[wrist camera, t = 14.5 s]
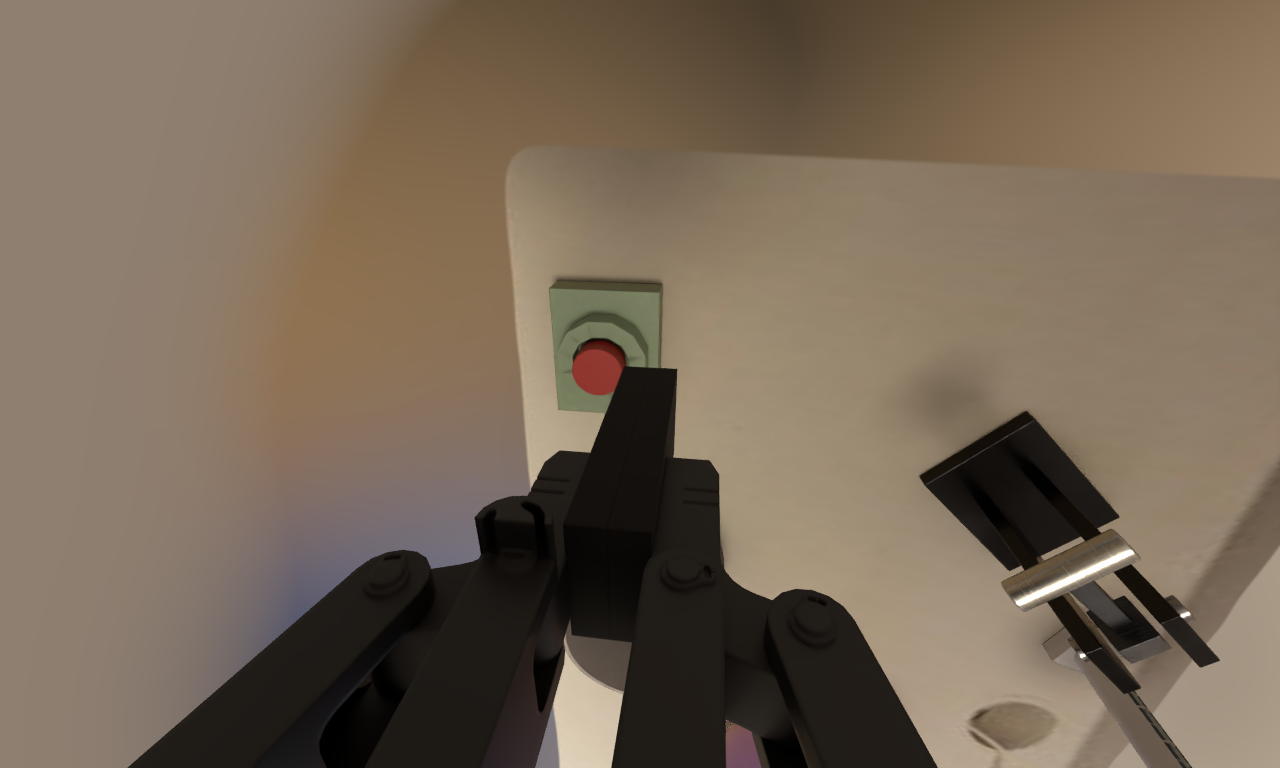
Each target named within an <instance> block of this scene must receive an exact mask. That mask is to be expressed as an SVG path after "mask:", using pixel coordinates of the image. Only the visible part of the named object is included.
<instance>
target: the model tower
mask: <svg viewBox="0 0 1280 768" xmlns="http://www.w3.org/2000/svg"><path fill="white" fill-rule="evenodd" d="M1095 628H1096V629H1097V630H1098V632H1099V633H1100V634H1101V635H1102V637H1103V638H1104V639H1105V641H1106V642H1107V643H1108V645H1109V646H1110V647H1111V649H1112V650H1113V651H1114V652H1115V654H1116V655H1117V656H1118V658H1119V659H1120V658H1121V657H1122V655H1121V654H1120V653H1119V652H1118V651H1117V650H1116V649H1115V648H1114V646H1113V645H1112V644H1111V643H1110V641H1109V640H1108V639H1107V638H1106V636H1105V635H1104V634H1103V633H1102V631H1101V630H1100V629H1099V628H1097V627H1095ZM1070 637H1071V635H1070V634H1069V632H1068V631H1067V630H1066V628H1063V629H1062V630H1061V631H1059V632H1058V633H1057V634H1056V635H1054V636H1053V637H1052V638H1050V639H1049V640H1048V641H1046V642H1045V643H1044V644H1043V647H1044V648H1045V650H1046V651H1047V653H1048V654H1049V656H1050V658H1051V659H1052V661H1054V662H1056V663H1059V664H1061V665H1063V666H1065V667H1068V668H1070V669H1072V670H1075V671H1077V672H1079V673H1081V674H1084V675H1085V677H1086V678H1087V679H1088V681H1089V682H1090V684H1091V685H1092V687H1093V688H1094V690H1095V691H1096V693H1097V694H1098V696H1099V697H1100V699H1101V700H1102V702H1103V703H1104V704H1105V706H1106V707H1107V709H1108V710H1109V712H1110V713H1111V715H1112V716H1113V718H1114V719H1115V721H1116V722H1117V724H1118V725H1119V727H1120V728H1121V729H1122V731H1123V732H1124V734H1125V735H1126V737H1127V738H1128V740H1129V741H1130V743H1131V744H1132V745H1133V747H1134V749H1135V750H1136V752H1137V753H1138V754H1139V756H1140V757H1141V759H1142V760H1143V762H1144V763H1145V765H1146V766H1147V768H1192V767H1191V765H1190V764H1189V763H1188V761H1187V760H1186V759H1185V758H1184V756H1183V755H1182V753H1181V752H1180V751H1179V750H1178V748H1177V747H1176V745H1175V744H1174V743H1173V741H1172V740H1171V739H1170V738H1169V736H1168V735H1167V733H1166V732H1165V731H1164V729H1163V728H1162V727H1161V725H1160V724H1159V723H1158V721H1157V720H1156V719H1155V717H1154V716H1153V715H1152V713H1151V712H1150V711H1149V709H1148V708H1147V707H1146V705H1145V704H1144V703H1143V701H1142V700H1141V699H1140V697H1139V696H1138V695H1137V693H1136V692H1135V691H1132V692H1130V693H1127V694H1123V693H1122V692H1121V691H1120V690H1119V689H1118V688H1117V687H1116V686H1115V685H1114V684H1113V683H1112V682H1111V681H1110V680H1109V679H1108V678H1107V677H1106V676H1105V675H1104V674H1103V673H1102V672H1101V671H1100V670H1099V669H1098V668H1097V667H1096V666H1095V665H1094V664H1093V663H1092V662H1091V661H1089V662H1084V661H1083V660H1082V659H1081V658H1080V657H1079V656H1078V654H1077V653H1076V652H1075V651H1074V649H1073V648H1072V647H1071V645H1070V644H1069V642H1068V640H1067V639H1068V638H1070Z"/></svg>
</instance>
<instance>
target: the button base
mask: <svg viewBox="0 0 1280 768" xmlns="http://www.w3.org/2000/svg"><path fill="white" fill-rule="evenodd" d="M662 287H663V285H662V284H636V283H609V282H582V281H556V282H555V283H554V284H553V285H552V286H551V287H550V288H549V294H550V307H551V320H552V333H553V346H554V359H555V373H556V386H557V399H558V410H568V411H583V412H598V413H606V411H607V409H608V406H609V404H610V401H611V398H612V396H613V393H614V391H613V392H611V393H609V394H606V395H593V394H590V393H587V392H585V391H584V390H582V389H581V388H580V387H579V386H578V385H577V383H576V382H575V380H574V377H573V374H572V365H573V362H574V360H575V358H576V357H577V355H578V353H579V352H580V350H581V349H582V347H583V346H585V345H586V344H587V343H589V342H592V341H596V340H603V341H608V342H610V343H612V344H614V345H616V346H617V347H618V348H619V349H620V350H621V351H622V353H623V355H624V357H625V360H626V366H632V367H649V368H661V331H662Z"/></svg>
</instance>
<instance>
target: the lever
mask: <svg viewBox="0 0 1280 768" xmlns="http://www.w3.org/2000/svg"><path fill="white" fill-rule="evenodd" d="M1140 559H1141V558H1140V556H1139V555H1138V554H1137V553H1136V552H1135V551H1134V549H1133V548H1132V547H1131V546H1130V545H1129V544H1128V543H1127V542H1126V541H1125V540H1124V539H1123V538H1122V537H1121V536H1120V535H1119V534H1118V533H1117V532H1116V531H1115V530H1113V529H1109V530H1107V531H1105V532H1103V533H1101V534H1099V535H1097V536H1095V537H1093V538H1091V539H1089V540H1087V541H1084V542H1082V543H1080V544H1078V545H1076V546H1074V547H1072V548H1070V549H1068V550H1066V551H1064V552H1062V553H1060V554H1057V555H1055V556H1053V557H1051V558H1049V559H1047V560H1045V561H1043V562H1041V563H1039V564H1037V565H1035V566H1033V567H1031V568H1028V569H1026V570H1024V571H1022V572H1020V573H1018V574H1016V575H1014V576H1012V577H1010V578H1008V579H1006V580H1004V581H1002V582H1001V584H1002V587H1003V588H1004V590H1005V592H1006V593H1007V594H1008V596H1009V597H1010V598H1011V600H1012V601H1013V602H1014V603H1015V604H1016V606H1017V607H1018V608H1019V609H1020V610H1022V611H1023V612H1026V611H1028V610H1030V609H1032V608H1035V607H1037V606H1039V605H1041V604H1044V603H1046V602H1048V601H1050V600H1052V599H1055V598H1057V597H1059V596H1061V595H1064V594H1066V593H1068V592H1070V593H1072V594H1073V595H1074V596H1075V597H1076V598H1077V599H1078V600H1079V601H1080V602H1082V603H1083V604H1084V605H1085V606H1086V607H1087V608H1088V609H1089V611H1087V612H1086V613H1087V614H1088V615H1089V617H1090V618H1091V619H1092V620H1093V621H1094V623H1095V624H1096V625H1097V626H1098V628H1099V629H1100V630H1101V631H1102V633H1103V634H1104V635H1105V636H1106V638H1107V639H1108V640H1109V641H1110V643H1111V644H1112V645H1113V646H1114V648H1115V649H1116V650H1117V651H1118V652H1119V653H1120V654H1121V655H1122V656H1123V657H1125V658H1126V659H1127V660H1128V661H1129V662H1131V663H1135V662H1137V661H1140V660H1143V659H1145V658H1148V657H1150V656H1153V655H1156V654H1158V653H1161V652H1164V651H1166V650H1169V649H1171V646H1170V645H1169V644H1168V643H1167V642H1166V641H1165V640H1164V638H1163V637H1162V636H1161V635H1160V634H1159V633H1158V632H1157V631H1156V630H1155V628H1154V627H1153V626H1152V625H1151V624H1150V623H1149V622H1148V621H1147V619H1146V618H1145V617H1144V616H1143V615H1142V614H1141V613H1140V612H1139V610H1138V609H1137V608H1136V607H1135V606H1134V605H1133V604H1132V603H1131V602H1130V601H1129V600H1128V599H1127V598H1126V597H1125V596H1122V597H1120V598H1117V599H1115V600H1113V599H1112V598H1111V597H1110V596H1109V595H1108V594H1107V593H1106V592H1105V591H1104V590H1103V589H1102V588H1101V587H1100V586H1099V585H1098V584H1097V583H1096V582H1095V580H1097V579H1099V578H1101V577H1104V576H1106V575H1108V574H1110V573H1112V572H1115V571H1117V570H1119V569H1121V568H1124V567H1126V566H1128V565H1130V564H1132V563H1135V562H1137V561H1139V560H1140Z"/></svg>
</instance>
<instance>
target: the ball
mask: <svg viewBox="0 0 1280 768" xmlns="http://www.w3.org/2000/svg"><path fill="white" fill-rule="evenodd" d="M726 768H761V765H760V761H759V758H758V754H757V751H756V747H755V744H754V740H753V737H752V732H751V731H749V730H747V729H745V728H743V727H741V726H739V725H737V724H735V723H733V724H732V725H731V727H730V728H729V730H728V731H727V733H726Z"/></svg>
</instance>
